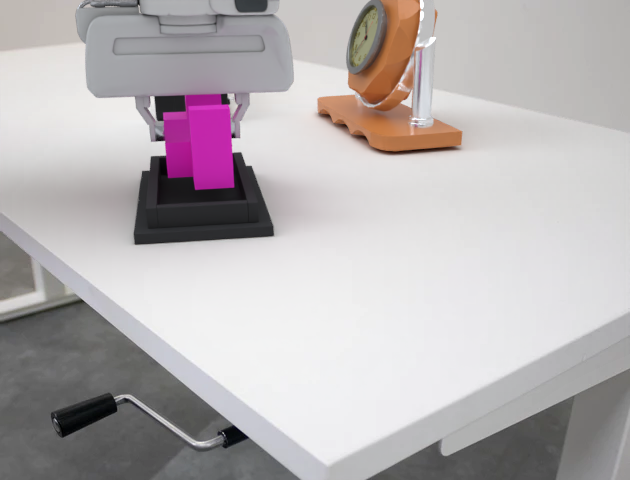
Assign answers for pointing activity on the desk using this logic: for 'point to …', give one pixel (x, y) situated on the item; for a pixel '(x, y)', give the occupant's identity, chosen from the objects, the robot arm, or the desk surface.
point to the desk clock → (392, 78)
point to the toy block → (200, 142)
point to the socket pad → (199, 207)
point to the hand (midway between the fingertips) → (196, 138)
